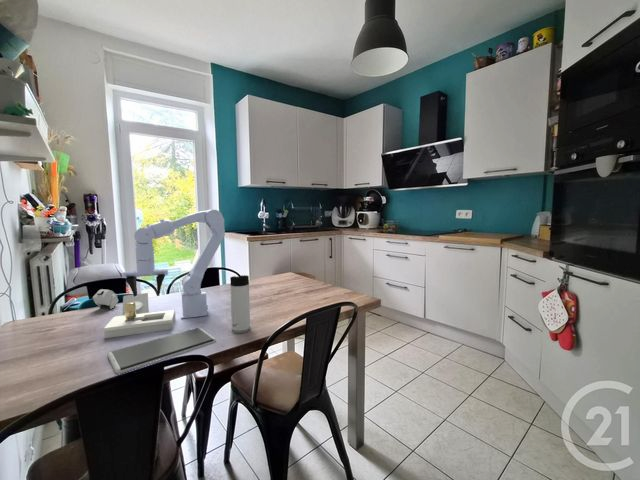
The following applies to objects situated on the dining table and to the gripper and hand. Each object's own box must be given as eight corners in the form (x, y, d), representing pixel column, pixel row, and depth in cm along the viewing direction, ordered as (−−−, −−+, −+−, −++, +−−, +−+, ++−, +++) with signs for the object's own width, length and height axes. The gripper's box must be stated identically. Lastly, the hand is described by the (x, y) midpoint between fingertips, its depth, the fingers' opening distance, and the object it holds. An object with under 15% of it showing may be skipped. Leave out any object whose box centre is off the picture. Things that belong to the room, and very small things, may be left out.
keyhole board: (175, 318, 112) (175, 309, 112) (172, 329, 102) (171, 319, 102) (114, 325, 105) (114, 316, 105) (104, 338, 95) (104, 328, 95)
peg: (142, 326, 104) (141, 301, 103) (133, 332, 100) (131, 305, 99) (130, 326, 105) (128, 301, 104) (120, 331, 100) (118, 305, 99)
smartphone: (216, 343, 93) (216, 338, 93) (116, 376, 74) (116, 370, 74) (200, 331, 102) (200, 326, 102) (107, 357, 84) (107, 352, 83)
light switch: (121, 321, 105) (123, 294, 115) (123, 331, 108) (124, 304, 118) (148, 316, 110) (147, 291, 120) (149, 327, 113) (148, 301, 123)
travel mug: (234, 335, 97) (232, 277, 95) (230, 328, 103) (228, 274, 101) (252, 331, 100) (250, 275, 98) (247, 325, 106) (246, 272, 104)
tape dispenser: (103, 311, 125) (87, 298, 118) (112, 298, 130) (98, 285, 123) (115, 312, 124) (100, 299, 117) (124, 299, 129) (110, 286, 122)
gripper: (168, 256, 113) (170, 290, 115) (125, 258, 108) (127, 293, 109) (166, 259, 107) (167, 295, 108) (120, 261, 102) (122, 299, 103)
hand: (147, 294), depth 108 cm, fingers open, 7 cm apart
